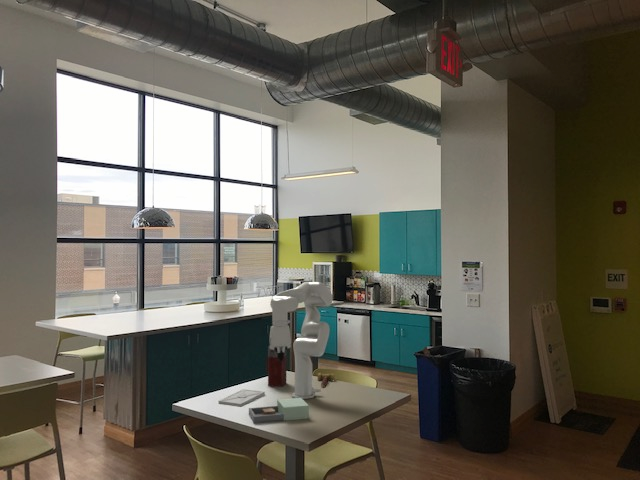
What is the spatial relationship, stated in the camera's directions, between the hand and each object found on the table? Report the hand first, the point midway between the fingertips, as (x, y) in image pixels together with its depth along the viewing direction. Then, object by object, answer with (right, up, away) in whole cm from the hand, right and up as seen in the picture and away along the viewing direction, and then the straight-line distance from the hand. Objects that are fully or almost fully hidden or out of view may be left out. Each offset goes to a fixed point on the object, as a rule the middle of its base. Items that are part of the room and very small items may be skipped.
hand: (280, 360), depth 258 cm
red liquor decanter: (-7, -26, +50) cm, 57 cm away
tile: (-5, -20, -14) cm, 25 cm away
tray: (-6, -24, -13) cm, 28 cm away
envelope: (-22, -26, +19) cm, 39 cm away
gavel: (+22, -27, +53) cm, 63 cm away
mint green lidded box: (+6, -24, -9) cm, 27 cm away
